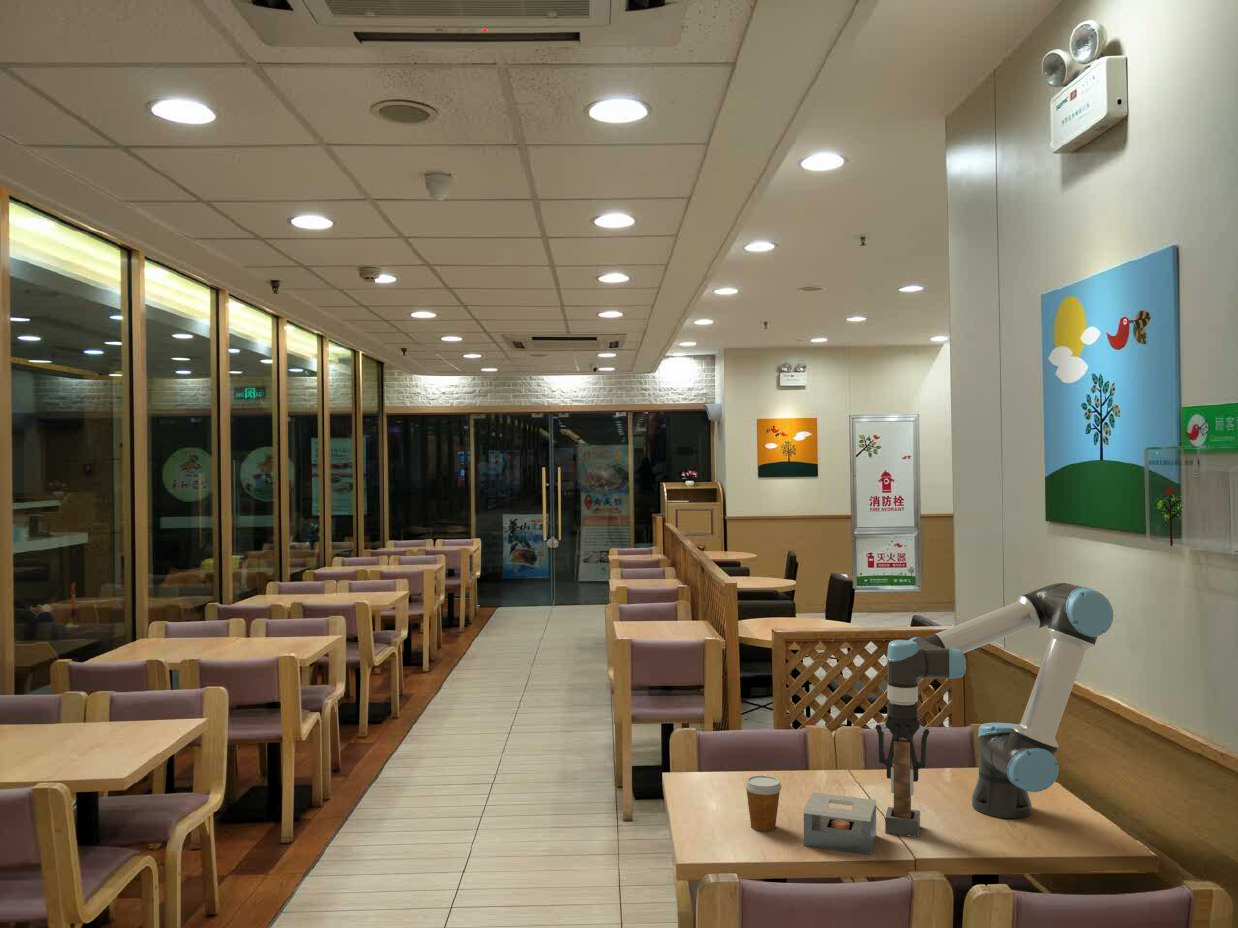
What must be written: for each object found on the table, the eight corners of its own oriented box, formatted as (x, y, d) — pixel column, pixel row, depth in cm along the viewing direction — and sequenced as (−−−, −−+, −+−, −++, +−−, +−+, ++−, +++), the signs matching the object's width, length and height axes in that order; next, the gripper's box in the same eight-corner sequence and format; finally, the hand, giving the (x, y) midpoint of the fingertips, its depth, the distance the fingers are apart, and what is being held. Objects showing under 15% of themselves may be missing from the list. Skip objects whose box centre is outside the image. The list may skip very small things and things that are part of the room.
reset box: (876, 835, 240) (876, 799, 240) (870, 854, 228) (870, 817, 228) (812, 826, 246) (812, 792, 246) (803, 845, 234) (803, 808, 234)
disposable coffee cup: (756, 817, 253) (756, 772, 253) (788, 825, 247) (788, 779, 247) (737, 827, 245) (737, 781, 245) (769, 836, 239) (769, 789, 239)
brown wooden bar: (911, 816, 245) (911, 738, 245) (909, 821, 241) (910, 742, 242) (894, 813, 247) (895, 736, 247) (893, 819, 243) (893, 741, 243)
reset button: (850, 836, 238) (850, 820, 238) (848, 843, 234) (848, 827, 234) (832, 834, 240) (832, 818, 240) (830, 840, 236) (830, 824, 236)
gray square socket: (920, 825, 246) (920, 810, 246) (918, 837, 239) (918, 821, 239) (888, 821, 249) (888, 806, 249) (885, 832, 242) (885, 817, 242)
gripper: (938, 700, 245) (937, 791, 245) (870, 695, 251) (869, 783, 251) (936, 707, 238) (936, 801, 238) (866, 701, 244) (866, 792, 244)
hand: (902, 792), depth 244 cm, fingers closed on brown wooden bar, 4 cm apart
